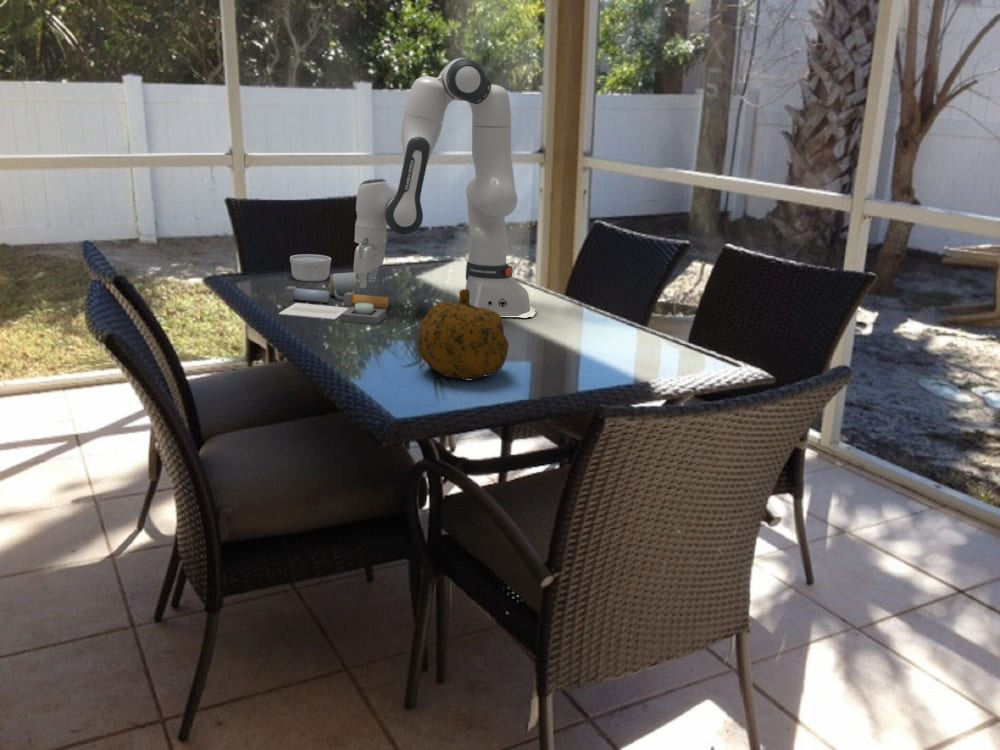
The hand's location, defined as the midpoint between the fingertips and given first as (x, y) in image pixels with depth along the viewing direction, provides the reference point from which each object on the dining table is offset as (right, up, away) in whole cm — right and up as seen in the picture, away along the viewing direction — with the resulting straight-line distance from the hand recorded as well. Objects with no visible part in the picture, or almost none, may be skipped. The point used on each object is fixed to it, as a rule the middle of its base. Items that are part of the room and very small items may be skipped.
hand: (367, 284), depth 272 cm
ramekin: (-24, +5, +37) cm, 44 cm away
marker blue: (-18, -4, +5) cm, 20 cm away
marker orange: (-1, -6, +2) cm, 7 cm away
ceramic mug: (-9, -3, +13) cm, 16 cm away
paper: (-14, -8, -7) cm, 17 cm away
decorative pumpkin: (+29, -26, -55) cm, 68 cm away
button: (+1, -9, -12) cm, 15 cm away
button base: (0, -10, -11) cm, 15 cm away
